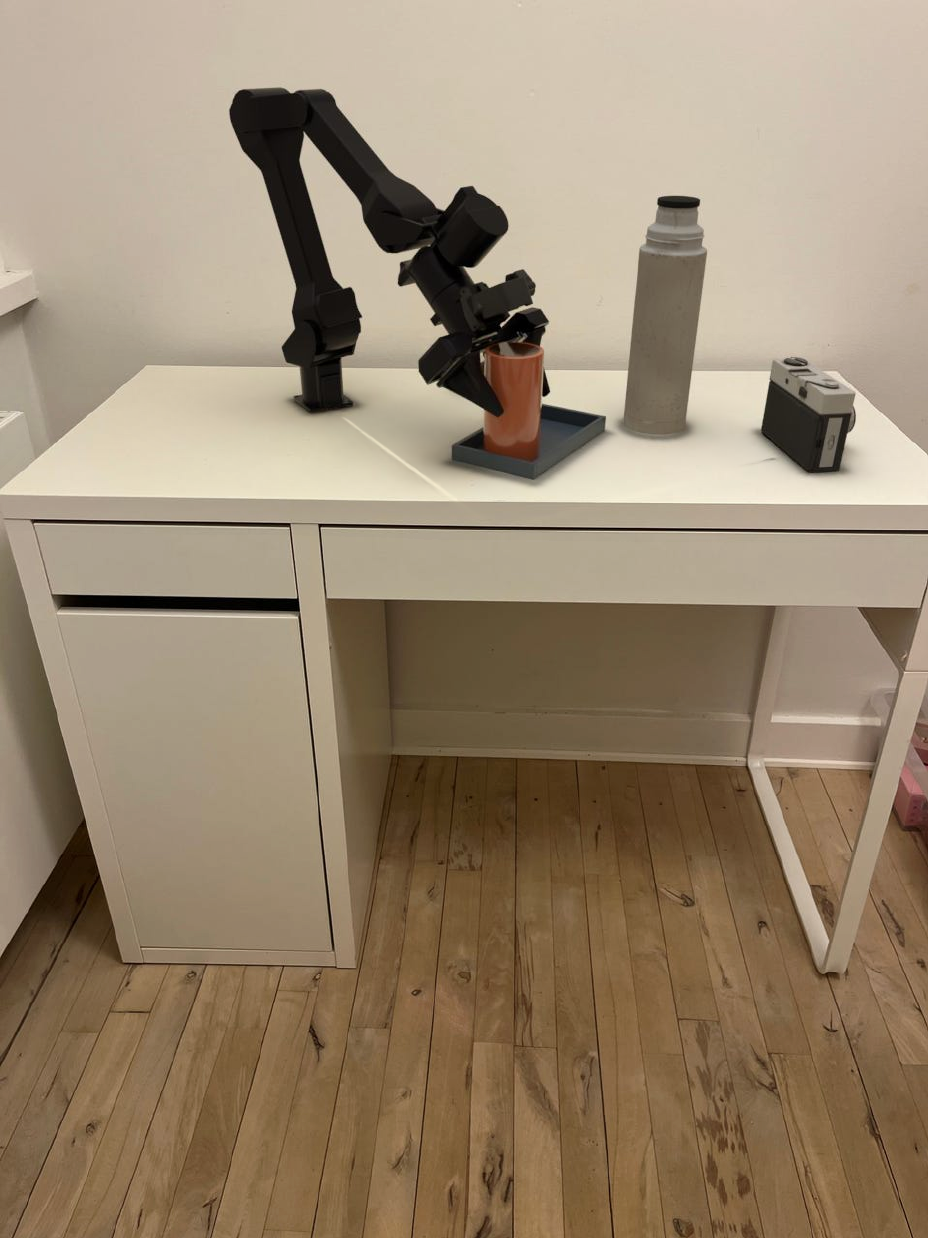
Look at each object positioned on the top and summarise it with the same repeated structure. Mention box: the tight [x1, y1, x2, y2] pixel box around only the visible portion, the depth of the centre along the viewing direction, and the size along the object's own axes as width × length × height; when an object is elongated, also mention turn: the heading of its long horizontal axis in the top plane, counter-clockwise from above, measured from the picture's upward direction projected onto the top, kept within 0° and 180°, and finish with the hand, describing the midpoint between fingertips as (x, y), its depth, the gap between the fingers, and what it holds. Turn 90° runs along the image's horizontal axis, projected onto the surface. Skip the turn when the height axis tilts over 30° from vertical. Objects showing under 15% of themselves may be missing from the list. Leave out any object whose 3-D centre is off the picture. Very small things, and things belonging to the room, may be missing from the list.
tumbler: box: [482, 342, 545, 462], centre depth 115 cm, size 7×7×13 cm
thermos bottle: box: [622, 195, 708, 436], centre depth 121 cm, size 8×8×28 cm
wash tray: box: [451, 403, 607, 480], centre depth 121 cm, size 19×11×2 cm, turn 148°
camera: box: [760, 356, 857, 473], centre depth 119 cm, size 14×8×10 cm, turn 9°
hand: (524, 404), depth 114 cm, fingers open, 9 cm apart
